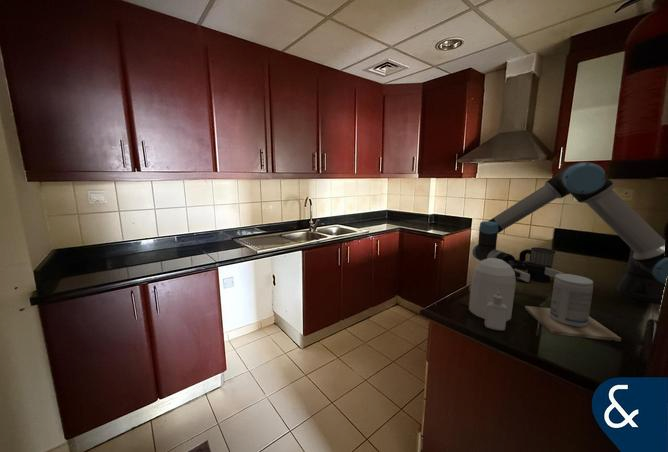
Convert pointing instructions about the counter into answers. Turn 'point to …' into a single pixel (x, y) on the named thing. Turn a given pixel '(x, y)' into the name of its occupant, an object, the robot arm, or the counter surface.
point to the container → (491, 285)
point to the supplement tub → (571, 299)
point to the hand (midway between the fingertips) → (545, 277)
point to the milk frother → (538, 262)
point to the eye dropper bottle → (496, 313)
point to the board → (555, 327)
